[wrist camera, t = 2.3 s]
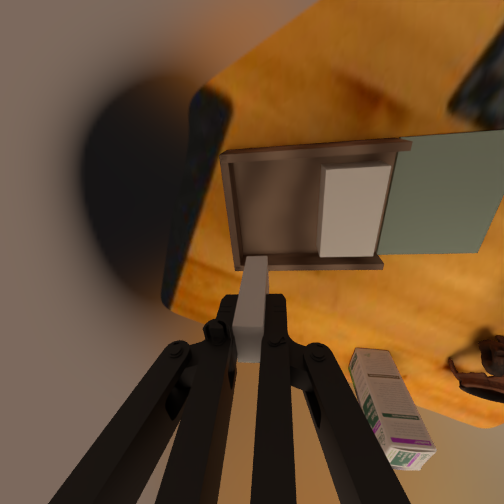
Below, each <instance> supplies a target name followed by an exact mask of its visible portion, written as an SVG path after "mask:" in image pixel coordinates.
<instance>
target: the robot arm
mask: <svg viewBox="0 0 504 504" xmlns="http://www.w3.org/2000/svg"><path fill="white" fill-rule="evenodd" d="M203 331H204V335H205V340H204V341H202V342H199V343H196V344H192V345H189V344H188V343H187V342H185V341H180V340H179V341H174V342H172V343H171V344H169V345H168V346H167V347H166V348H165V349H164V350H163V352H162V353H161V354H160V355H159V357H158V358H157V360H156V361H155V362H154V364H153V365H152V366H151V368H150V369H149V370H148V371H147V373H146V374H145V375H144V377H143V378H142V380H141V381H140V382H139V383H138V385H137V386H136V387H135V389H134V390H133V391H132V393H131V394H130V396H129V397H128V398H127V400H126V401H125V402H124V404H123V405H122V406H121V407H120V409H119V410H118V411H117V413H116V414H115V415H114V417H113V418H112V419H111V421H110V422H109V424H108V425H107V426H106V427H105V429H104V430H103V431H102V433H101V434H100V436H99V437H98V438H97V439H96V441H95V442H94V443H93V445H92V446H91V447H90V449H89V450H88V451H87V453H86V454H85V455H84V457H83V458H82V459H81V461H80V462H79V463H78V465H77V466H76V467H75V469H74V470H73V471H72V473H71V474H70V476H69V477H68V478H67V479H66V481H65V482H64V483H63V485H62V486H61V487H60V489H59V490H58V491H57V493H56V494H55V495H54V497H53V498H52V499H51V501H50V502H49V503H48V504H136V503H137V500H138V499H139V497H140V495H141V493H142V491H143V489H144V488H145V486H146V484H147V482H148V480H149V478H150V476H151V474H152V473H153V471H154V469H155V467H156V465H157V463H158V461H159V459H160V457H161V455H162V454H163V452H164V450H165V448H166V446H167V444H168V442H169V440H170V438H171V437H172V435H173V433H174V431H175V429H176V427H177V425H178V423H179V422H180V424H179V427H178V430H177V434H176V437H175V440H174V443H173V446H172V450H171V453H170V456H169V459H168V462H167V466H166V469H165V472H164V475H163V479H162V482H161V485H160V488H159V491H158V495H157V498H156V501H155V504H217V501H218V494H219V488H220V481H221V475H222V468H223V461H224V454H225V448H226V441H227V435H228V428H229V421H230V414H231V407H232V401H233V394H234V387H235V381H236V375H237V368H236V362H237V358H238V362H249V363H250V362H251V363H260V370H259V385H258V400H257V414H256V428H255V443H254V457H253V471H252V486H251V500H250V504H297V503H296V485H295V484H296V483H295V463H294V444H293V423H292V403H291V386H293V387H296V388H298V389H301V390H303V393H304V396H305V399H306V402H307V405H308V408H309V410H310V414H311V417H312V420H313V423H314V426H315V429H316V432H317V435H318V438H319V441H320V444H321V447H322V450H323V453H324V456H325V459H326V462H327V464H328V468H329V470H330V474H331V476H332V479H333V483H334V486H335V489H336V492H337V494H338V497H339V500H340V503H341V504H411V503H410V501H409V499H408V497H407V495H406V493H405V492H404V490H403V488H402V486H401V484H400V482H399V480H398V478H397V476H396V474H395V473H394V471H393V468H392V467H391V465H390V463H389V461H388V459H387V457H386V455H385V453H384V451H383V449H382V447H381V445H380V443H379V441H378V440H377V438H376V436H375V434H374V432H373V430H372V428H371V426H370V424H369V422H368V420H367V418H366V416H365V415H364V413H363V411H362V409H361V407H360V405H359V403H358V401H357V399H356V397H355V396H354V394H353V391H352V390H351V388H350V386H349V384H348V382H347V380H346V378H345V376H344V374H343V372H342V370H341V368H340V366H339V364H338V363H337V361H336V359H335V357H334V355H333V353H332V351H331V350H330V349H329V347H327V346H326V345H324V344H321V343H311V344H308V345H307V346H303V345H300V344H298V343H295V342H294V341H293V340H292V339H291V338H290V337H289V335H288V330H287V311H286V299H285V297H284V296H283V294H269V276H268V257H267V256H247V257H246V262H245V267H244V272H243V277H242V281H241V286H240V291H239V294H237V295H225V297H224V298H223V299H222V300H221V303H220V308H219V310H218V313H217V317H216V319H213V320H210V321H208V322H207V323H206V324H205V325H204V327H203ZM180 420H181V421H180Z"/></svg>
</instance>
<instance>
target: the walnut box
mask: <svg viewBox="0 0 504 504" xmlns="http://www.w3.org/2000/svg"><path fill="white" fill-rule="evenodd" d="M412 143H413V141H408V140H403V139H398V138H384V139H371V140H357V141H343V142H330V143H316V144H303V145H289V146H276V147H262V148H249V149H235V150H226V151H225V152H223V153H222V154H220V155H219V158H220V165H221V172H222V180H223V187H224V194H225V201H226V209H227V216H228V223H229V231H230V238H231V245H232V253H233V260H234V267H235V271H244V267H245V262H246V257H247V256H267V257H268V271H288V270H383V267H384V263H383V262H382V260H381V259H380V257H379V256H378V255H377V253H376V248H377V244H378V239H379V234H380V229H381V224H382V220H383V215H384V210H385V205H386V200H387V195H388V191H389V186H390V181H391V176H392V171H393V166H394V162H395V157H396V152H401V151H411V147H412ZM367 161H382V162H384V163H386V164H388V165H390V166H391V170H390V175H389V180H388V185H387V190H386V195H385V200H384V205H383V210H382V215H381V220H380V225H379V229H378V234H377V239H376V244H375V249H374V254H373V256H364V257H320V256H319V253H318V249H317V246H316V242H317V226H318V211H319V195H320V179H321V164H335V163H351V162H367Z"/></svg>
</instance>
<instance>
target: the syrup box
mask: <svg viewBox="0 0 504 504" xmlns="http://www.w3.org/2000/svg"><path fill="white" fill-rule="evenodd" d="M348 369H349V372H350V375H351V379H352V382H353V385H354V389H355V392H356V395H357V399H358V402H359V405H360V407H361V409H362V411H363V413H364V415H365V416H366V418H367V420H368V422H369V424H370V426H371V428H372V430H373V432H374V434H375V436H376V438H377V440H378V441H379V443H380V445H381V447H382V449H383V451H384V453H385V455H386V457H387V459H388V461H389V463H390V465H391V467H392V468H393V469H397V470H419V471H420V469H421V467H422V465H423V464H424V463H425V462H427V461H428V459H429V458H430V457H431V456H432V455H433V454H435V453H436V451H437V450H436V447H435V445H434V443H433V441H432V440H431V437H430V435H429V433H428V431H427V429H426V427H425V425H424V423H423V421H422V418H421V416H420V414H419V412H418V410H417V408H416V406H415V404H414V402H413V400H412V398H411V396H410V394H409V392H408V390H407V388H406V386H405V384H404V381H403V379H402V377H401V375H400V373H399V371H398V369H397V367H396V365H395V363H394V361H393V359H392V357H391V355H390V353H389V351H385V350H377V349H364V348H355V352H354V354H353V357H352V359H351V362H350V365H349V368H348Z"/></svg>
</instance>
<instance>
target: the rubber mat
mask: <svg viewBox="0 0 504 504" xmlns="http://www.w3.org/2000/svg"><path fill="white" fill-rule="evenodd" d="M399 139H403V140H408V141H413V143H412V147H411V151H401V152H396V157H395V162H394V166H393V171H392V176H391V181H390V186H389V191H388V195H387V200H386V205H385V210H384V215H383V220H382V224H381V229H380V234H379V239H378V244H377V248H376V253H377V255H388V254H448V253H478V251H479V248H480V246H481V244H482V242H483V240H484V237H485V235H486V233H487V231H488V229H489V226H490V224H491V222H492V220H493V218H494V215H495V213H496V211H497V209H498V206H499V204H500V202H501V200H502V198H503V195H504V130H493V131H479V132H466V133H452V134H438V135H425V136H411V137H399Z"/></svg>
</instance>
